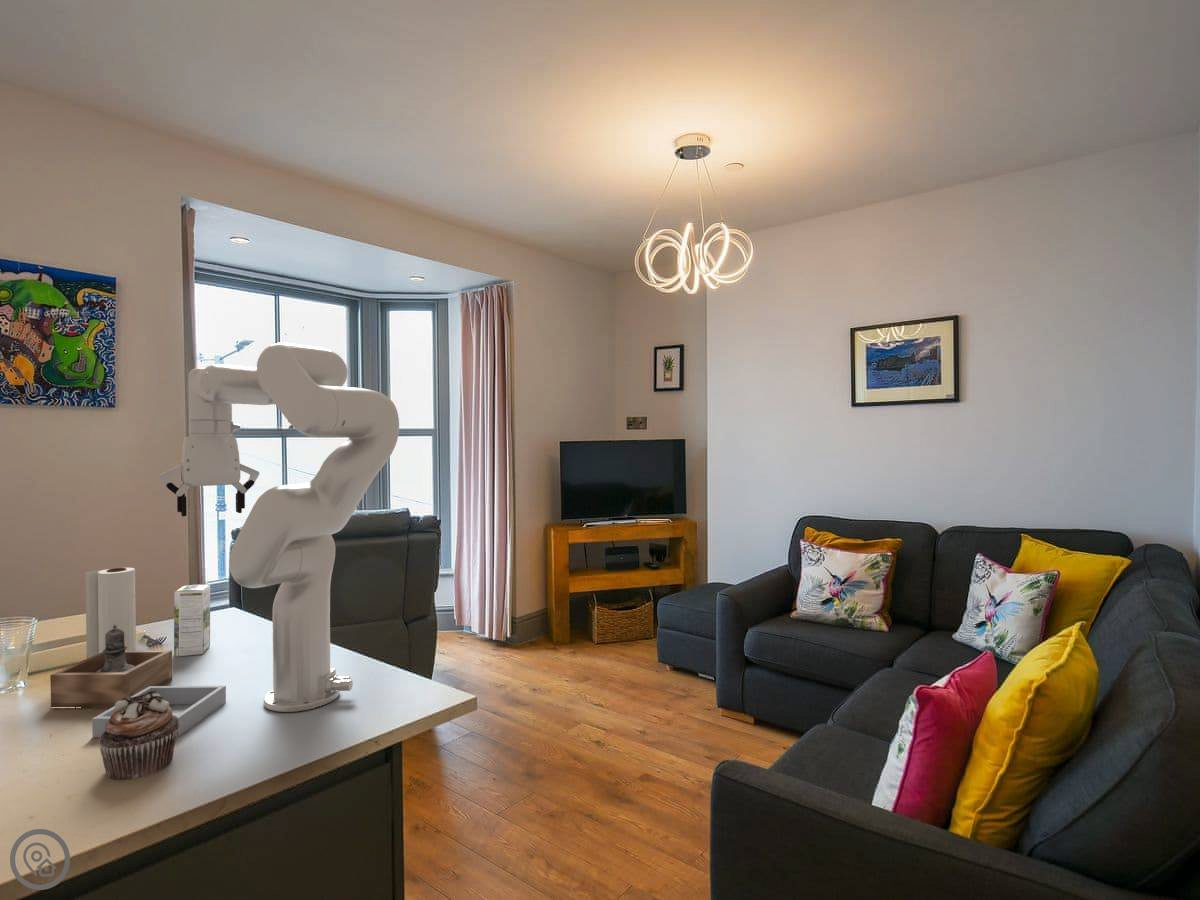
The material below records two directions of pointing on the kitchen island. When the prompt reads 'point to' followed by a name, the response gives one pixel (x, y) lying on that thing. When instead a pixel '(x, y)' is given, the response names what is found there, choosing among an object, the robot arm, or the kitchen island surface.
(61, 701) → the walnut bin
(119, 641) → the grey chess piece
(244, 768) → the kitchen island surface
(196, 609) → the syrup box
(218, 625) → the kitchen island surface
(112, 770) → the cupcake
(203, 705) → the grey frame
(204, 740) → the kitchen island surface
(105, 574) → the paper towel roll
